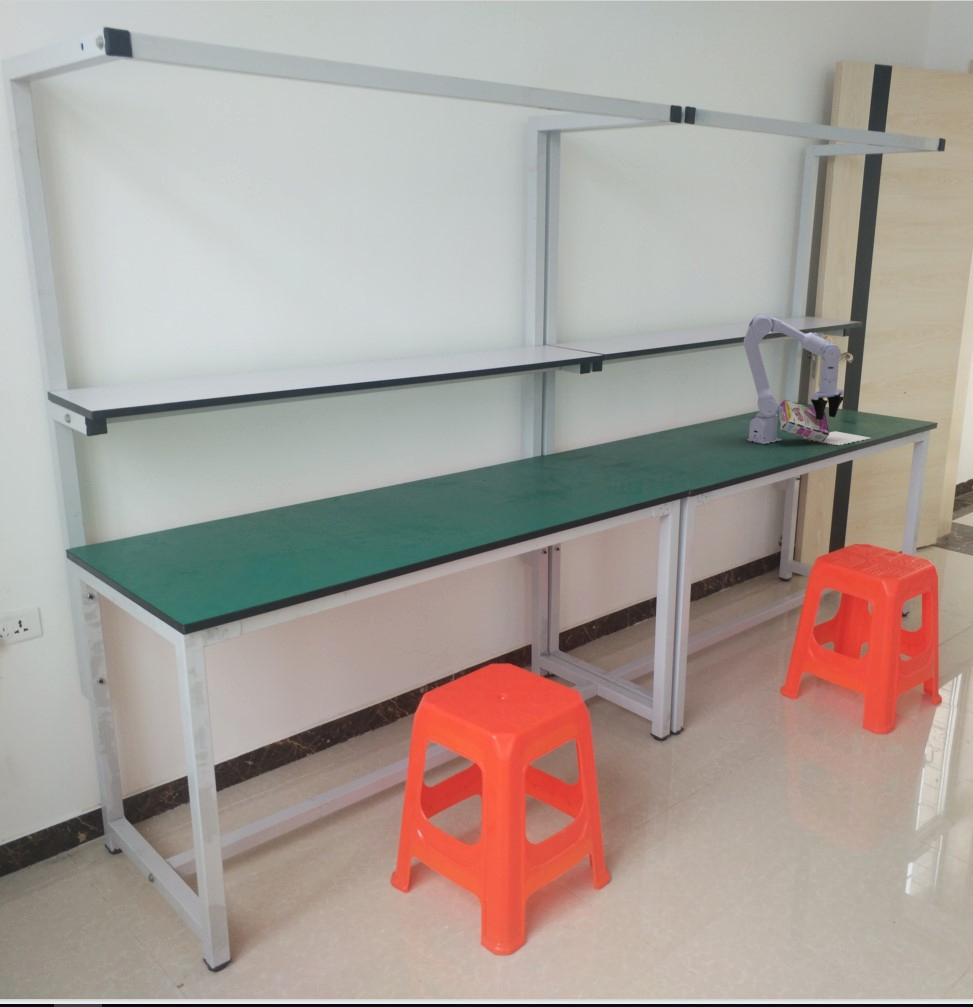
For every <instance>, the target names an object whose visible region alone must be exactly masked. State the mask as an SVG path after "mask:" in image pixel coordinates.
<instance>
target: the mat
mask: <svg viewBox="0 0 973 1007" xmlns="http://www.w3.org/2000/svg"><path fill="white" fill-rule="evenodd" d="M803 438H804V439H803V440H805V439H808V438H805V437H803ZM867 439H868V440H871V439H872V437H868V436H862V435H858V434H853V433H846V432H841V431H837V430H836V431H829V436H828V437H827V438H826V439H825V440H824V441H823V442H822V443H821V444H826V443H827V444H828V445H831V444H832V445H833V446H836V445H838V446H837V447H840V446H839V445H841V446H845V445H844V444H846V445H849V444H848V443H850V444H853V443H852V442H855V443H858V442H857V441H859V442H863V441H862V440H864V441H868V440H867ZM807 441H811V439H808V440H807ZM812 442H816V441H815V440H813V441H812ZM816 443H819V442H818V441H817V442H816ZM827 444H826V445H827ZM832 445H831V446H832Z"/></svg>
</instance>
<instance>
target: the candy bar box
mask: <svg viewBox="0 0 973 1007" xmlns="http://www.w3.org/2000/svg"><path fill="white" fill-rule="evenodd" d="M777 414H778V419H779V428H780V431H783V432H785V433H789V434H792V435H796V436H798V437H802V438H808V439H811V440H815V441H814V442H816V441H818V442H817V443H821V444H823V443H822V442H823V441H824V440H825V439H826V438H827V437H828V436H829V432H830V431H829V425H828V420H827V416H826V411H824V417H823V420H820V419H817V418H816V413H815V409H814V407H809V406H807V405H803V404H800V403H797V402H793V401H791V400H788V399H783V401H782V402H781V403H780V405H778V411H777ZM811 440H810V441H811Z"/></svg>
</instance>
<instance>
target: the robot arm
mask: <svg viewBox="0 0 973 1007" xmlns="http://www.w3.org/2000/svg"><path fill="white" fill-rule="evenodd" d="M746 330H747V331H746V333H745V336H744V339H743V347H744V350H745V353H746V357H747V360H748V364H749V367H750V371H751V372H750V373H751V375H752V379H753V382H754V387H755V389H756V394H757V397H758V399H757V408H758V409H759V411H758V412H757V413H756V415H755V418H752V419H751V420H750V422H749V429H748V430H749V432H748V433H749V434H748V438H747V439H746V441H747V440H748V441H747V442H752V441H753V443H757V444H762V445H765V444H766V443H767V444H771V443H770V442H772V443H777V442H781V441H782V440H783V439H782V438H778V436H777V434H778V419H779V414H778V407H779V405H778V402H777V400H776V399H775V397H773V394H772V390H771V388H770V384H769V381H768V377H767V373H766V369H765V365H764V362H763V357H762V355H761V350H760V347H759V344H760V343H761V341H762V340H763V338H764V337H765V336H766V335H768V334H769V333H770V332H771V333H774V334H775V333H776V334H777V333H781V334H783V335H785V336H788V337H790V338H792V339H794V340H795V341H798V342H799V343H800V346H801V347H802V348H803V349H804V350H806V351H809V352H810V353H813V354H814V355H816V356H818V357H819V356H820V357H822V359H821V364H820V377H819V387H818V388H819V390H818V391H816V392H814V393H811V398H810V402H811V404H812V405H813V409H815V413H816V418H817V419H820V420H823V417H824V412H825V410H826V406H827V404H828V417H831V418H836V416H837V413H838V410H839V407H840V406H841V404H842V402H843V401H844V399H845V398H844V389H840V388H838V382H839V381H838V379H839V378H838V377H839V363H840V361H839V360H840V358H841V356H842V352H841V348H840V347H839V346H838V345H836V344H835V343H833V342H831V340H829V339H825V338H822V337H821V336H819V334H818V333H817V332H808V333H804V332H802V331H800V330H799V329H797V328H795V327H793V326H792V325H790V324H788V323H786V322H785V321H783V320H781V319H778V318H775V317H773V316H769V315H767V314H765V313H758V314H756V315H755V316H753V318H752V319H751V321H750V322H749V323H748V328H747V329H746ZM825 399H827V400H825ZM776 441H777V442H776Z"/></svg>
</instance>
